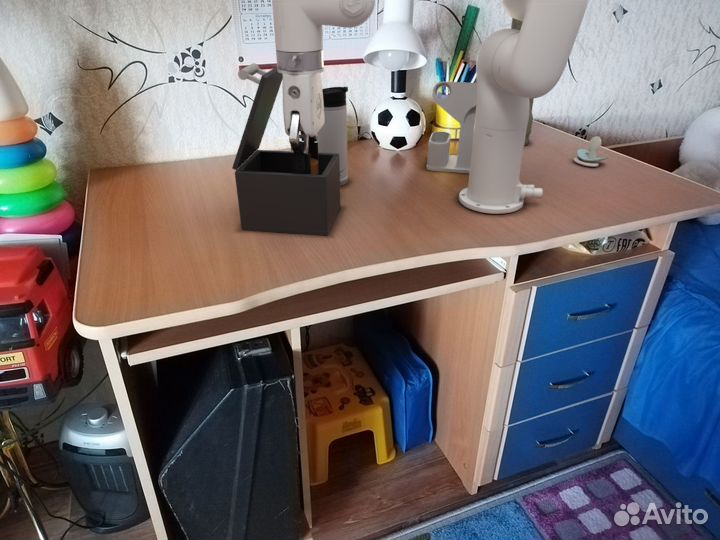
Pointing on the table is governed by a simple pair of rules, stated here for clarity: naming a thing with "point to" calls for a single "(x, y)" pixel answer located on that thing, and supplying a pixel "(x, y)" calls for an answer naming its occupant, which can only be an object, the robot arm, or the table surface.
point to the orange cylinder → (314, 167)
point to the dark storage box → (287, 194)
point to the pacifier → (590, 153)
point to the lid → (257, 110)
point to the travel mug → (335, 128)
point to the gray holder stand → (464, 112)
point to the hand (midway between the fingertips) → (306, 168)
